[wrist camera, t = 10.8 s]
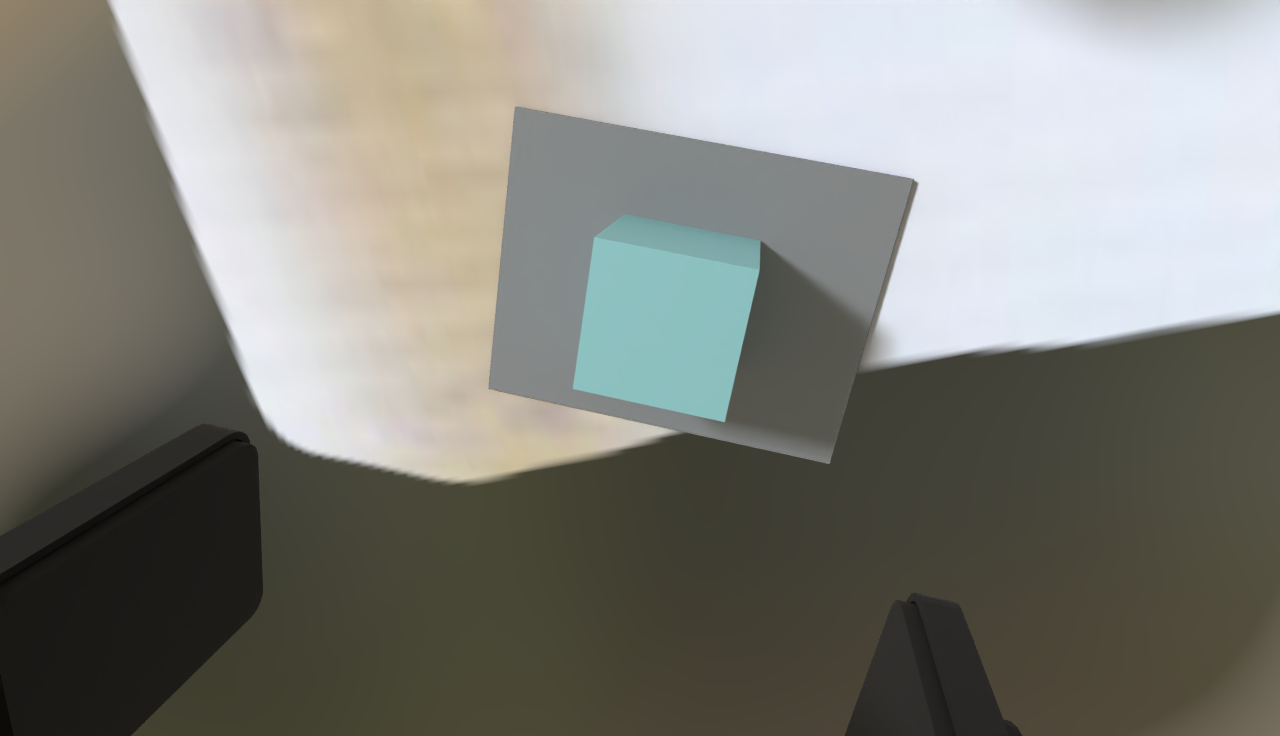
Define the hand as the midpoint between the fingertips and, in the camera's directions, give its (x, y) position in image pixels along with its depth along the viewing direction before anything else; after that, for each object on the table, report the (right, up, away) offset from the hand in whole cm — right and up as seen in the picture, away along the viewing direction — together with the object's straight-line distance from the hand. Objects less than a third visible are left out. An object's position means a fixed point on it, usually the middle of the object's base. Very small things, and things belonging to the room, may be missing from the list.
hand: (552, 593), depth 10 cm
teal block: (+3, +6, +17) cm, 18 cm away
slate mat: (+3, +6, +17) cm, 18 cm away
